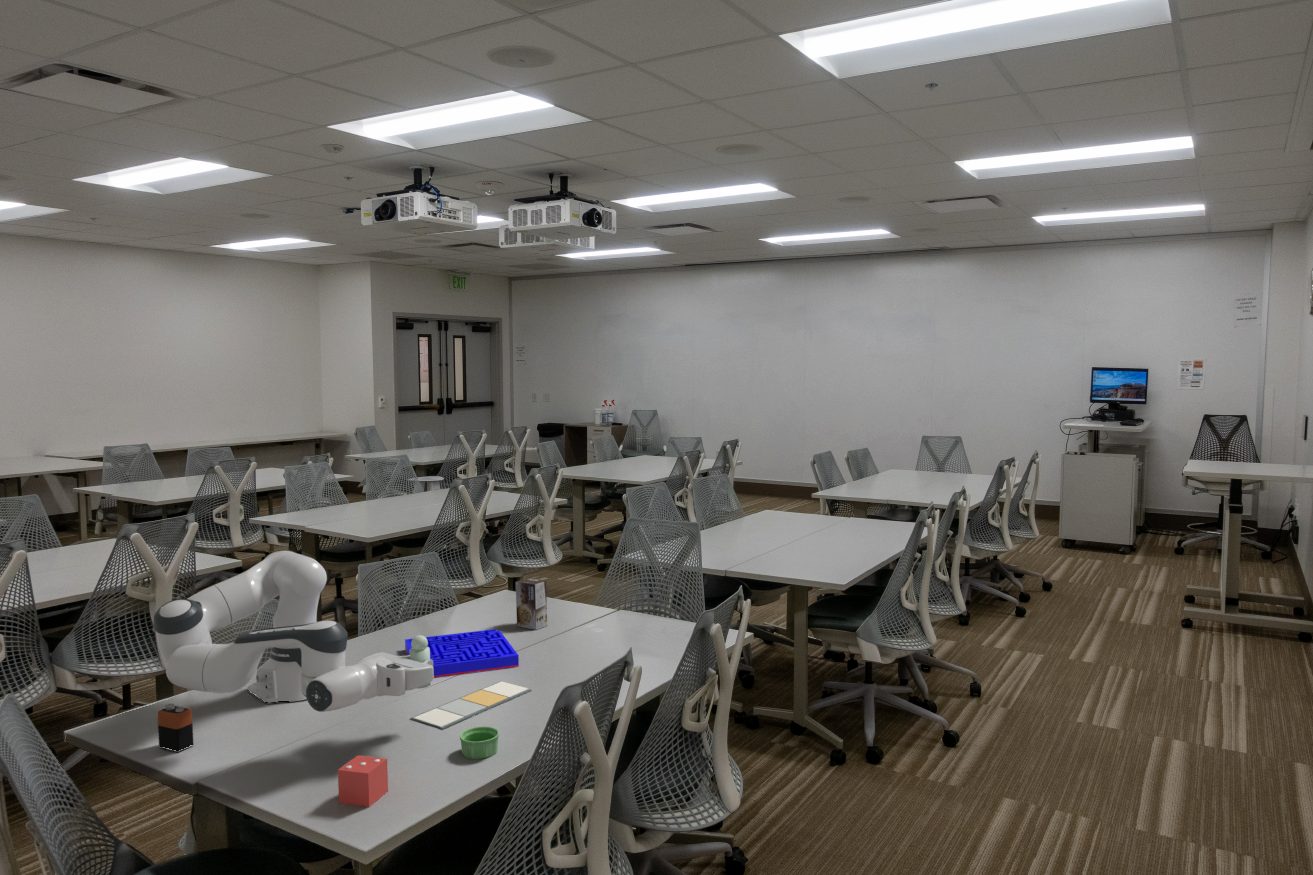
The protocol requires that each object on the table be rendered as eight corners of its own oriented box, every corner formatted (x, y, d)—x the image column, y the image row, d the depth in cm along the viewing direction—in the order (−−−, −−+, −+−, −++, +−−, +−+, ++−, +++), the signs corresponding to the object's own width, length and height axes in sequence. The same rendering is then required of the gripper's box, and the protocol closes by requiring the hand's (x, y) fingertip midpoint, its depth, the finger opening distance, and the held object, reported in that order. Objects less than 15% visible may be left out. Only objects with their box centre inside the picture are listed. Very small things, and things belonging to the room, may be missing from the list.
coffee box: (548, 625, 305) (547, 580, 304) (536, 630, 300) (535, 583, 299) (527, 621, 310) (527, 577, 309) (515, 626, 305) (514, 580, 304)
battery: (174, 741, 210) (172, 700, 210) (194, 745, 207) (192, 704, 207) (158, 748, 206) (156, 707, 206) (178, 753, 203) (176, 711, 203)
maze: (518, 668, 263) (518, 655, 262) (415, 681, 252) (415, 668, 251) (498, 640, 291) (498, 628, 290) (405, 651, 280) (404, 639, 279)
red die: (339, 802, 179) (337, 768, 178) (358, 787, 186) (357, 754, 185) (369, 806, 177) (368, 772, 177) (388, 790, 184) (387, 757, 183)
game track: (410, 718, 223) (410, 717, 223) (500, 682, 249) (500, 680, 249) (442, 729, 216) (442, 727, 216) (531, 690, 242) (531, 688, 242)
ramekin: (452, 752, 203) (452, 733, 203) (485, 740, 209) (485, 722, 209) (473, 764, 197) (473, 745, 196) (507, 751, 203) (506, 733, 203)
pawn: (406, 685, 216) (405, 636, 215) (421, 680, 220) (420, 631, 219) (419, 689, 213) (418, 639, 212) (434, 683, 217) (433, 634, 216)
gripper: (349, 680, 211) (396, 664, 223) (404, 697, 200) (451, 680, 211) (348, 654, 211) (395, 640, 222) (403, 670, 199) (450, 654, 211)
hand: (422, 659), depth 217 cm, fingers closed on pawn, 5 cm apart
